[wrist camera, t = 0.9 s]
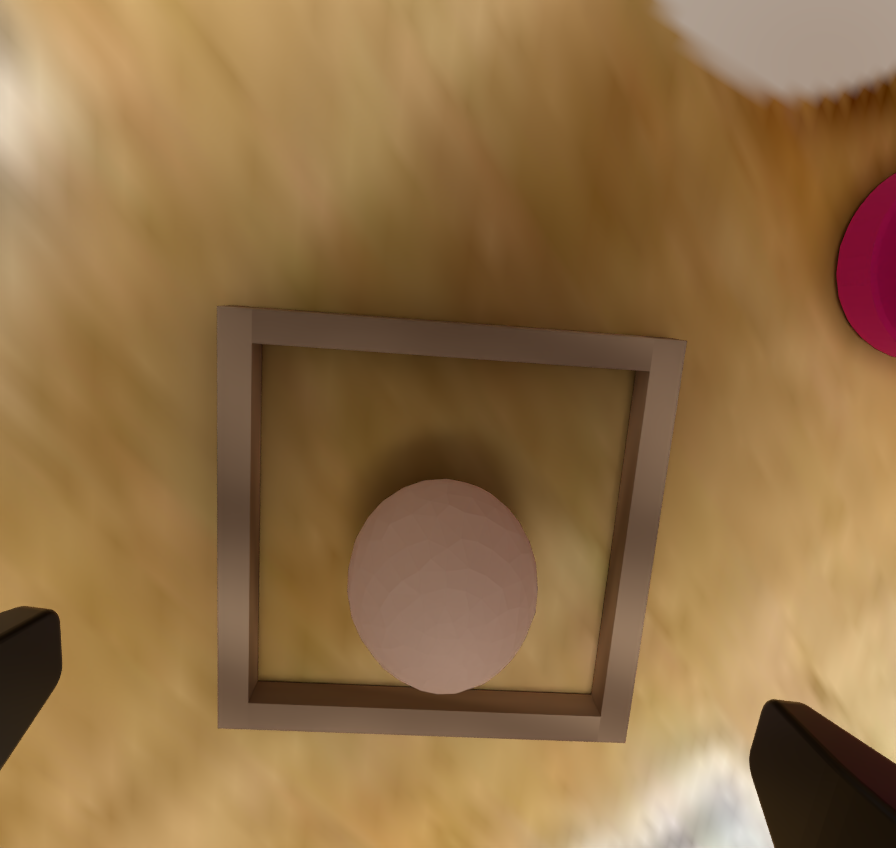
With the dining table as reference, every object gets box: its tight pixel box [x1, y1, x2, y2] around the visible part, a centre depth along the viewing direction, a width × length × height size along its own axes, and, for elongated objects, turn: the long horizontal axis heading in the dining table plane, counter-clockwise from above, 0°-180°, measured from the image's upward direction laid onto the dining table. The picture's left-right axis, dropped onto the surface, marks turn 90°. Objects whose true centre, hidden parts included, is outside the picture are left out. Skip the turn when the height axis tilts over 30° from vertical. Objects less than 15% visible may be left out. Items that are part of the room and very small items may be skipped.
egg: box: [347, 479, 538, 694], centre depth 17 cm, size 5×5×7 cm
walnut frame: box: [217, 305, 687, 743], centre depth 20 cm, size 14×14×1 cm
